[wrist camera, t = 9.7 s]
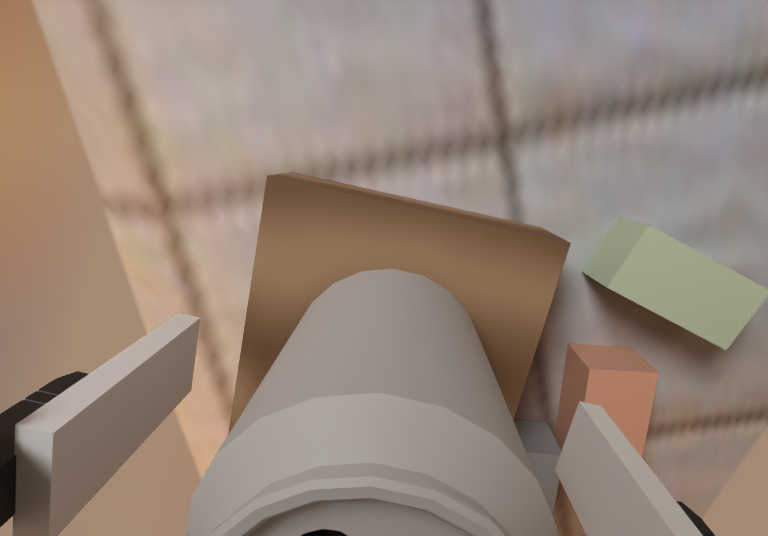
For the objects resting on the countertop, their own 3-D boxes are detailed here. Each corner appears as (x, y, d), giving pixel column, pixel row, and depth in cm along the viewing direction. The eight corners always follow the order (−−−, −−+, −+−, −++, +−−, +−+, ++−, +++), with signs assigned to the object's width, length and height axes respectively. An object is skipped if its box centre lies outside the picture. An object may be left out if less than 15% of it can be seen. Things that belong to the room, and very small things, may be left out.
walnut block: (292, 172, 22) (267, 175, 18) (541, 227, 22) (570, 242, 18) (255, 396, 24) (227, 442, 21) (475, 444, 25) (488, 499, 21)
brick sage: (580, 270, 22) (607, 287, 19) (616, 215, 22) (648, 225, 19) (684, 325, 23) (726, 350, 20) (723, 273, 22) (771, 291, 19)
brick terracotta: (566, 342, 23) (589, 368, 20) (627, 345, 23) (658, 372, 20) (551, 446, 25) (571, 485, 22) (608, 450, 24) (635, 489, 22)
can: (333, 235, 18) (205, 378, 6) (508, 303, 18) (686, 555, 7) (275, 394, 20) (92, 731, 8) (435, 453, 20) (478, 858, 9)
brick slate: (488, 414, 24) (499, 449, 21) (545, 419, 24) (563, 455, 21) (475, 509, 26) (483, 555, 23) (528, 515, 26) (544, 560, 23)
